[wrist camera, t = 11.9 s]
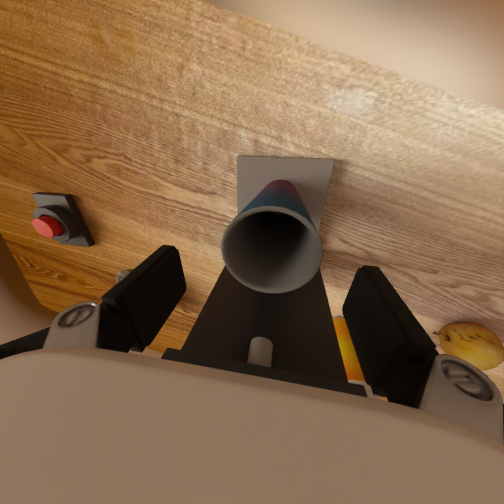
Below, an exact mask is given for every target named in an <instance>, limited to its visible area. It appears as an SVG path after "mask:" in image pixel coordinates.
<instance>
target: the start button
mask: <svg viewBox="0 0 504 504" xmlns="http://www.w3.org/2000/svg"><path fill="white" fill-rule="evenodd" d="M32 223H33V226H34V228H35V229H36V230H37V231H38V232H39V233H40V234H41V235H43V236H44V237H47V238H52V237H54V236H57V235H59V234H62V233H63V229H62V227H61V225H60V223H59V222H58V221H57V220H56V219H55V218H53V217H51V216H49V215H46V216H43V217H39V218H36V219H34V220H33V222H32Z"/></svg>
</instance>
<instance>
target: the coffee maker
mask: <svg viewBox="0 0 504 504" xmlns="http://www.w3.org/2000/svg"><path fill="white" fill-rule="evenodd" d="M334 161H335V160H334V159H322V158H293V157H264V156H237V205H238V214H239V213H240V212H241V211H242V210H243V209H244V208H245V207H246V206H247V205H248V204H249V203H250V202H251V201H252V200H253V199H254V198H255V197H256V196H257V195H258V194H259V193H260V192H261V191H262V189H263V188H264V187H265V186H266V185H267V184H269V183H270V182H272V181H274V180H286V181H288V182H290V183H291V184H292V185H293V186H294V187H295V188H296V190H297V192H298V194H299V196H300V198H301V200H302V202H303V204H304V206H305V208H306V210H307V212H308V213H309V215H310V217H311V219H312V221H313V223H314V225H315V227H316V229H317V231H318V232H319V227H320V223H321V218H322V214H323V210H324V205H325V201H326V196H327V192H328V188H329V183H330V179H331V174H332V170H333V166H334ZM161 359H165V360H171V361H176V362H182V363H188V364H193V365H199V366H204V367H209V368H215V369H220V370H226V371H231V372H237V373H242V374H247V375H253V376H258V377H263V378H269V379H274V380H279V381H285V382H290V383H295V384H300V385H306V386H311V387H316V388H321V389H327V390H332V391H337V392H342V393H348V394H352V395H357V396H362V397H367V398H368V396H367V393H366V390H365V387H364V385H360V384H355V383H350V382H348V378H347V374H346V370H345V366H344V362H343V358H342V354H341V350H340V346H339V343H338V339H337V335H336V331H335V327H334V323H333V319H332V315H331V311H330V307H329V303H328V299H327V295H326V291H325V287H324V283H323V279H322V275H321V271H320V267H319V269H318V271H317V273H316V274H315V276H314V277H313V278H312V279H311V280H310V281H309V282H308V283H306V284H305V285H303V286H302V287H300V288H297V289H295V290H293V291H289V292H285V293H264V292H259V291H256V290H254V289H251V288H249V287H247V286H245V285H243V284H242V283H241V282H239V281H238V280H237V279H236V278H235V277H234V276H233V275H232V274H231V273H230V272H229V270H228V269H227V267H226V265H225V267H224V269H223V270H222V272H221V274H220V276H219V278H218V280H217V282H216V284H215V286H214V288H213V290H212V291H211V293H210V295H209V297H208V299H207V301H206V303H205V305H204V307H203V309H202V311H201V313H200V314H199V316H198V318H197V320H196V322H195V324H194V326H193V328H192V330H191V332H190V334H189V335H188V337H187V339H186V341H185V343H184V345H183V347H182V349H181V350H177V349H172V348H167V349H166V351H165V352H164V354H163V356H162V358H161Z"/></svg>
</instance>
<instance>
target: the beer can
mask: <svg viewBox="0 0 504 504" xmlns="http://www.w3.org/2000/svg"><path fill="white" fill-rule="evenodd" d="M332 319H333V323H334V327H335V331H336V335H337V339H338V343H339V346H340V350H341V354H342V358H343V362H344V366H345V370H346V374H347V378H348V382H350V383H355V384H360V385H364V387H365V390H366V393H367V396H368V398H372V399H376V400H381V399H380V396H377V395H373V392H372V390H371V387H370V385H367V384H366V382H365V379H364V376H363V373H362V370H361V367H360V364H359V361H358V358H357V355H356V352H355V349H354V346H353V343H352V340H351V337H350V334H349V331H348V328H347V325H346V322H345V318H343V317H332Z"/></svg>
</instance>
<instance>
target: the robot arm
mask: <svg viewBox="0 0 504 504" xmlns="http://www.w3.org/2000/svg"><path fill="white" fill-rule="evenodd" d="M185 291H186V282H185V277H184V273H183V268H182V264H181V259H180V255H179V251H178V249H176V248H175V246H169V245H162V246H161V247H160V248H159V249H157V250H156V251H155V252H154V253H153V254H151V255H150V256H149V257H148V258H147V259H146V260H144V261H143V262H142V263H141V264H140V265H138V266H137V267H136V268H135V269H134V270H133V271H131V272H130V273H129V274H128V275H127V276H125V277H124V278H123V279H122V280H121V281H120V282H118V283H117V284H116V285H115V286H114V287H112V288H111V289H110V290H109V291H108V292H107V293H105V294H104V295H103V296H102V297H101V298H102V300H103V302H102V303H101V304H99V303H98V302H95V301H85V302H81V303H78V304H75V305H73V306H71V307H69V308H67V309H65V310H64V311H62V312H61V313H60V314H59V315H58V316H57V317H56V318H55V319H54V321H53V323H52V325H51V327H49V328H46V329H43V330H41V331H38V332H35V333H32V334H29V335H27V336H24V337H21V338H19V339H16V340H13V341H10V342H8V343H5V344H2V345H0V504H504V404H503V400H502V396H501V393H500V391H499V390H498V388H497V387H496V385H495V384H494V383H493V382H492V381H491V380H490V378H489V377H488V376H487V375H485V374H484V373H483V372H482V371H481V370H479V369H478V368H477V367H475V366H474V365H472V364H470V363H469V362H467V361H465V360H463V359H461V358H459V357H456V356H453V355H450V354H439V353H438V352H437V350H436V349H435V348H436V345H435V344H434V342H433V341H432V340H431V338H430V337H429V336H428V334H427V333H426V332H425V330H424V329H423V327H422V326H421V325H420V323H419V322H418V321H417V319H416V318H415V316H414V315H413V314H412V312H411V311H410V310H409V308H408V307H407V305H406V304H405V303H404V301H403V300H402V299H401V297H400V296H399V294H398V293H397V292H396V290H395V289H394V288H393V286H392V285H391V284H390V282H389V281H388V279H387V278H386V277H385V275H384V274H383V273H382V271H381V270H380V268H379V267H377V266H367V265H364V266H362V268H358V270H357V272H356V275H355V277H354V280H353V282H352V285H351V287H350V289H349V292H348V294H347V297H346V299H345V302H344V304H343V308H342V311H343V315H344V318H345V322H346V325H347V328H348V331H349V334H350V337H351V340H352V343H353V346H354V349H355V352H356V355H357V358H358V361H359V364H360V367H361V370H362V373H363V376H364V379H365V382H366V384H367V385H370V387H371V390H372V392H373V395H377V396H382V397H387V399H388V401H389V402H386V401H381V400H376V399H372V398H367V397H362V396H357V395H352V394H348V393H342V392H337V391H332V390H327V389H321V388H316V387H311V386H306V385H300V384H295V383H290V382H285V381H279V380H274V379H269V378H263V377H258V376H253V375H247V374H242V373H237V372H231V371H226V370H220V369H215V368H209V367H204V366H199V365H193V364H188V363H182V362H176V361H171V360H165V359H160V358H154V357H149V356H143V355H137V354H131V353H128V352H129V350H130V349H131V350H132V351H137V352H143V350H144V349H145V347H146V346H148V345H150V344H151V343H152V341H153V340H154V338H155V337H156V335H157V334H158V332H159V331H160V329H161V328H162V326H163V325H164V323H165V322H166V320H167V319H168V317H169V316H170V314H171V313H172V311H173V310H174V308H175V307H176V305H177V304H178V302H179V301H180V299H181V298H182V296H183V295H184V293H185Z"/></svg>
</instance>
